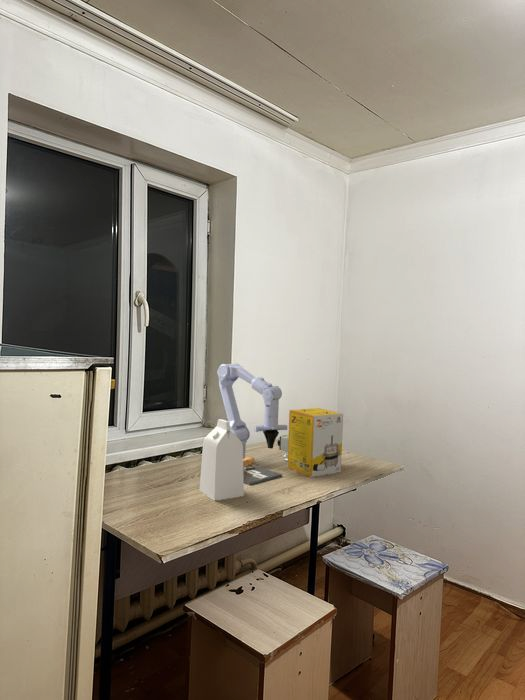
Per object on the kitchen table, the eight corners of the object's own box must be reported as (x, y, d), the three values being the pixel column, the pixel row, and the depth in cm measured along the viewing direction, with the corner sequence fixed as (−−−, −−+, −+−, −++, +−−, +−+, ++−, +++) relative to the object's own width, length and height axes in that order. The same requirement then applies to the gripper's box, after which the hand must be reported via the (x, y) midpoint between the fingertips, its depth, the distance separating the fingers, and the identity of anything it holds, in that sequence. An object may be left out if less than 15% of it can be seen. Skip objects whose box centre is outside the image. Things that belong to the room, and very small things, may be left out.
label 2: (252, 475, 187) (252, 475, 187) (258, 474, 189) (258, 473, 189) (261, 478, 183) (261, 478, 183) (267, 477, 186) (267, 476, 186)
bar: (248, 462, 201) (248, 456, 201) (256, 464, 199) (256, 457, 199) (224, 470, 188) (224, 463, 188) (232, 472, 186) (232, 465, 186)
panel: (215, 473, 192) (215, 468, 192) (247, 465, 205) (248, 461, 205) (249, 485, 178) (249, 480, 178) (281, 476, 191) (282, 471, 191)
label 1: (246, 472, 192) (246, 471, 192) (252, 470, 194) (252, 469, 194) (254, 474, 188) (254, 473, 188) (261, 473, 191) (261, 472, 191)
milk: (243, 495, 166) (246, 422, 165) (214, 501, 160) (216, 424, 159) (227, 486, 176) (230, 416, 176) (199, 490, 170) (201, 418, 169)
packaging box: (315, 462, 214) (317, 407, 213) (340, 472, 200) (343, 413, 199) (287, 467, 204) (289, 410, 204) (311, 477, 191) (313, 416, 190)
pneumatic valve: (297, 464, 210) (298, 437, 210) (276, 459, 217) (277, 433, 217) (304, 462, 214) (305, 435, 214) (283, 457, 222) (284, 431, 221)
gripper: (259, 417, 190) (258, 451, 190) (291, 416, 196) (290, 448, 196) (252, 414, 196) (251, 447, 197) (283, 413, 202) (282, 445, 203)
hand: (270, 447), depth 197 cm, fingers closed
